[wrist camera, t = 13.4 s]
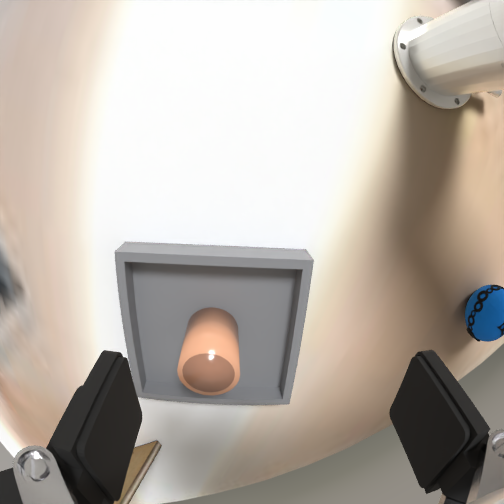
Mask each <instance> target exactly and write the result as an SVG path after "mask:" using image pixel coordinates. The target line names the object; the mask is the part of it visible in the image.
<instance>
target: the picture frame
mask: <svg viewBox="0 0 504 504" xmlns="http://www.w3.org/2000/svg"><path fill="white" fill-rule="evenodd" d="M161 446H162V445H161V444H160V443H159V442H158V441H154V442H151V443H148V444H145V445H142V446H139V447H135V448H134V449H133V453H132V456H131V460H130V463H129V467H128V471H127V474H126V478H125V482H124V486H123V489H122V493H121V497H120V499H119V501H114V504H129V502H130V501H131V499H132V497H133V495H134V494H135V492H136V490H137V488H138V487H139V485H140V483H141V481H142V480H143V478H144V476H145V474H146V473H147V471H148V469H149V467H150V466H151V464H152V462H153V460H154V458H155V457H156V455H157V453H158V451H159V450H160V448H161Z"/></svg>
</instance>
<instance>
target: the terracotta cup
mask: <svg viewBox="0 0 504 504" xmlns="http://www.w3.org/2000/svg"><path fill="white" fill-rule="evenodd" d="M177 373H178V376H179V379H180V381H181V382H182V383H183V384H184V385H185V386H186V387H187V388H188V389H190V390H192V391H193V392H196V393H199V394H203V395H220V394H223V393H226V392H228V391H230V390H231V389H233V388H234V387H235V386H236V384H237V383H238V381H239V378H240V362H239V335H238V325H237V322H236V320H235V319H234V317H233V316H232V315H231V314H230V313H228V312H227V311H225V310H222V309H219V308H213V307H209V308H204V309H201V310H198V311H197V312H195V313H194V314H193V315H192V316H191V317H190V319H189V321H188V324H187V328H186V332H185V337H184V341H183V345H182V350H181V354H180V358H179V363H178V368H177Z"/></svg>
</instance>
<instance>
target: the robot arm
mask: <svg viewBox="0 0 504 504" xmlns="http://www.w3.org/2000/svg"><path fill="white" fill-rule="evenodd" d="M394 53H395V58H396V62H397V65H398V67H399V70H400V72H401V74H402V76H403V77H404V79H405V81H406V82H407V84H408V85H409V86H410V87H411V89H412V90H413V91H414V92H415V93H416V94H417V95H418V96H419V97H420V98H421V99H422V100H424V101H425V102H427V103H428V104H430V105H432V106H435V107H437V108H441V109H453V108H458V107H460V106H462V105H464V104H465V103H466V102H467V101H468V100H469V98H470V97H471V94H472V93H479V92H488V93H489V94H491V95H493V96H495V97H499V96H500V95H501V93H502V90H504V0H472V1H470V2H468V3H466V4H464V5H462V6H460V7H457V8H455V9H453V10H451V11H449V12H447V13H445V14H443V15H441V16H439V17H438V18H436V19H433V18H431V17H427V16H414V17H411V18H409V19H407V20H406V21H404V22H403V23H402V24H401V25H400V26H399V27H398V29H397V31H396V33H395V37H394ZM390 418H391V420H392V423H393V425H394V427H395V429H396V431H397V434H398V436H399V438H400V440H401V443H402V445H403V447H404V450H405V452H406V454H407V456H408V459H409V461H410V464H411V466H412V468H413V471H414V473H415V475H416V478H417V480H418V483H419V485H420V486H421V487H422V488H424V489H425V491H426V494H427V493H430V492H432V491H435V490H438V489H439V488H441V491H442V495H441V498H440V501H439V503H438V504H504V430H496V431H494V432H493V433H492V434H491V435H490V436H489V434H488V431H489V430H490V428H489V426H488V425H487V423H486V422H485V420H484V419H483V417H482V416H481V414H480V413H479V411H478V410H477V408H476V407H475V405H474V404H473V403H472V401H471V400H470V398H469V397H468V396H467V394H466V393H465V391H464V390H463V389H462V387H461V386H460V385H459V383H458V382H457V380H456V379H455V378H454V376H453V375H452V374H451V372H450V371H449V370H448V368H447V367H446V366H445V364H444V363H443V362H442V360H441V359H440V358H439V356H438V355H437V354H436V352H434V351H433V350H429V351H421V352H418V353H417V354H416V355H415V357H413V358H412V359H411V362H410V364H409V367H408V369H407V372H406V374H405V377H404V379H403V381H402V384H401V386H400V388H399V391H398V393H397V395H396V397H395V400H394V402H393V404H392V406H391V408H390ZM141 422H142V411H141V408H140V404H139V401H138V397H137V394H136V390H135V386H134V383H133V379H132V375H131V371H130V367H129V363H128V360H127V358H125V357H123V356H122V354H121V353H120V352H113V351H106V350H104V351H103V352H102V353H101V355H100V356H99V358H98V360H97V362H96V363H95V365H94V367H93V369H92V370H91V372H90V374H89V376H88V378H87V379H86V381H85V383H84V385H83V386H80V387H79V388H78V389H77V390H76V392H75V394H74V396H73V398H72V399H71V401H70V403H69V405H68V407H67V409H66V411H65V412H64V414H63V416H62V418H61V420H60V422H59V424H58V426H57V428H56V430H55V432H54V434H53V436H52V438H51V440H50V442H49V444H48V446H47V448H46V449H45V448H43V447H41V446H28V447H26V448H24V449H22V450H21V451H19V452H18V453H17V455H16V456H15V458H14V462H13V468H11V469H7V470H4V471H1V472H0V504H114V501H119V499H120V497H121V493H122V489H123V486H124V482H125V478H126V474H127V471H128V467H129V463H130V460H131V456H132V453H133V449H134V446H135V442H136V439H137V436H138V432H139V429H140V425H141Z"/></svg>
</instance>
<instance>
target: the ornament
mask: <svg viewBox="0 0 504 504" xmlns="http://www.w3.org/2000/svg"><path fill="white" fill-rule="evenodd" d="M465 321H466V325H467V331H468V333H469V334H470V335H471V336H472V337H473V338H474V339H476V340H477V341H480V340H481V341H494V340H497V339H498V338H500V337H502V336H503V335H504V288H503V287H501V286H498V285H486V286H483V287H481V288H479V289H478V290H476V291H475V292H474V293H473V294H472V296H471V297H470V299H469V301H468V303H467V306H466V310H465Z"/></svg>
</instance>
